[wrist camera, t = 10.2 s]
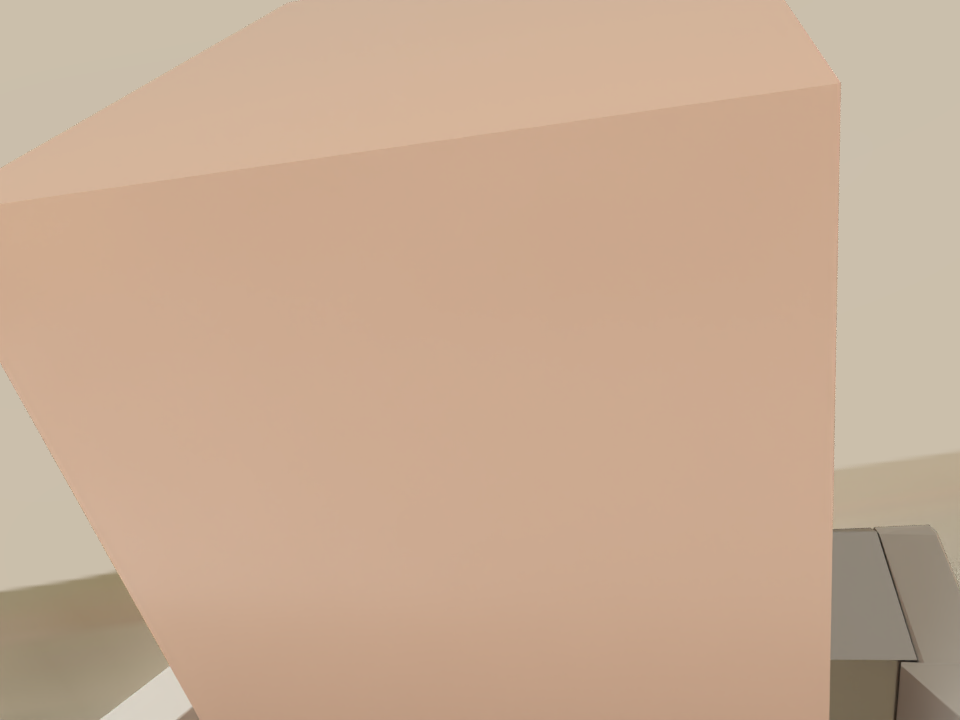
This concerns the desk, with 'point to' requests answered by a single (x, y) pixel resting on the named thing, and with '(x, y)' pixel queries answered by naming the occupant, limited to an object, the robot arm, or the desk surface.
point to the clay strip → (454, 358)
